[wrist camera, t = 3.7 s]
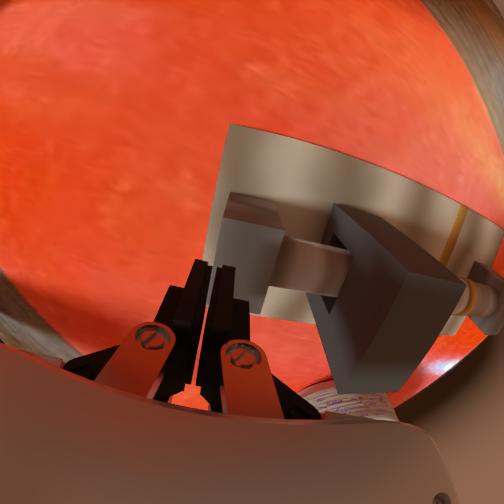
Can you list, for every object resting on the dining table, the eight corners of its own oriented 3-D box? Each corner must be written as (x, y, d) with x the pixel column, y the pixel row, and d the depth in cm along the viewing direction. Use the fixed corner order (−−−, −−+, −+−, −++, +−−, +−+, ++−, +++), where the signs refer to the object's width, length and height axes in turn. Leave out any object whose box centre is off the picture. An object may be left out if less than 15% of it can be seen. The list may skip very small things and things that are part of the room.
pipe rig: (197, 297, 23) (182, 356, 16) (230, 124, 17) (221, 117, 11) (450, 330, 26) (478, 367, 19) (500, 227, 20) (541, 253, 14)
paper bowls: (369, 415, 32) (383, 457, 25) (270, 434, 33) (273, 480, 26) (390, 348, 26) (418, 401, 19) (256, 374, 27) (259, 437, 20)
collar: (304, 289, 21) (337, 393, 12) (333, 203, 18) (408, 271, 9) (349, 297, 21) (397, 391, 12) (381, 217, 18) (467, 285, 9)
